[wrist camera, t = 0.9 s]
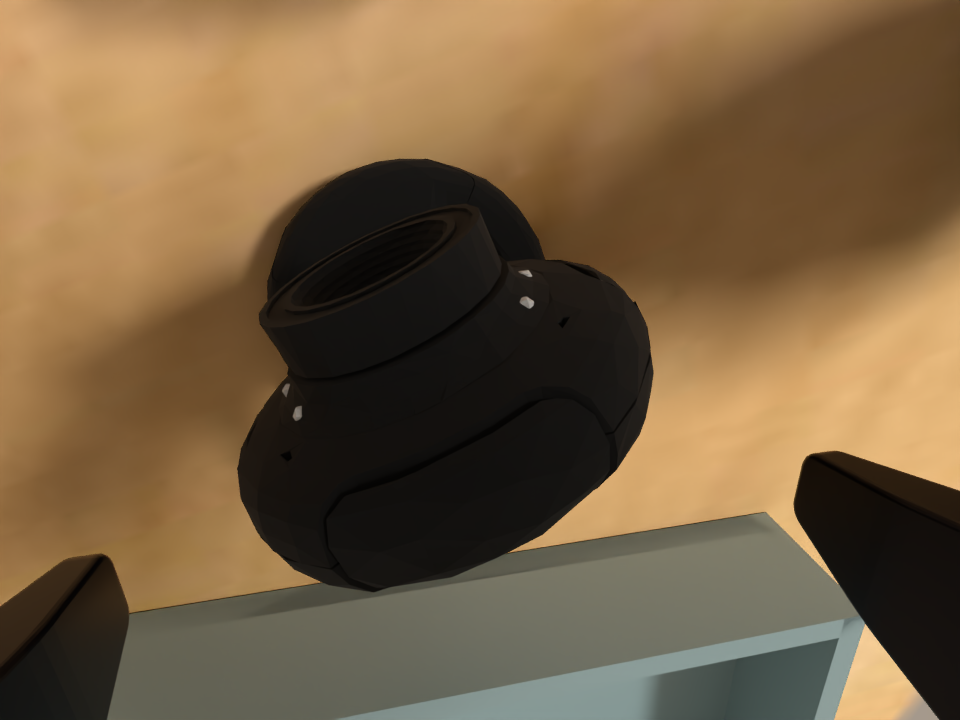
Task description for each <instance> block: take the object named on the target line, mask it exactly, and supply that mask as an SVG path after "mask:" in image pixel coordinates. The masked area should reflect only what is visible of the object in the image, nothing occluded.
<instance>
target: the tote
mask: <svg viewBox="0 0 960 720" xmlns="http://www.w3.org/2000/svg"><path fill="white" fill-rule="evenodd" d="M864 625H865V623H864V621H863V620H862V618H861V617H860V616H859V614H858V613H857V611H856V610H855V608H854V607H853V605H852V604H851V602H850V601H849V599H848V598H847V596H846V595H845V593H844V592H843V590H842V588H841V587H840V586H839V585H838V584H837V583H836V582H835V581H834V580H833V579H832V578H831V577H830V576H829V575H828V574H827V573H826V572H825V571H824V570H823V569H822V568H821V567H820V566H819V565H818V564H817V563H816V562H815V561H814V560H813V559H812V558H811V557H810V556H809V555H808V554H807V553H806V552H805V551H804V550H803V549H802V548H801V547H800V546H799V545H798V544H797V543H796V542H795V541H794V540H793V539H792V538H791V537H790V536H789V535H788V534H787V533H786V532H785V531H784V530H783V529H782V528H781V527H780V526H779V525H778V524H777V523H776V522H775V521H774V520H773V519H772V518H771V517H770V516H769V515H768V514H767V513H766V512H765V513H758V514H752V515H746V516H740V517H733V518H727V519H721V520H715V521H708V522H702V523H696V524H690V525H683V526H677V527H671V528H664V529H658V530H652V531H646V532H639V533H633V534H627V535H621V536H614V537H608V538H602V539H596V540H589V541H583V542H577V543H570V544H564V545H558V546H552V547H545V548H539V549H533V550H527V551H520V552H514V553H508V554H504V555H502V556H500V557H498V558H496V559H493V560H491V561H489V562H486V563H484V564H482V565H479V566H477V567H475V568H472V569H470V570H468V571H465V572H463V573H461V574H459V575H456V576H454V577H451V578H445V579H438V580H432V581H426V582H420V583H414V584H408V585H401V586H395V587H389V588H386V589H383V590H380V591H377V592H374V593H373V592H367V591H361V590H355V589H348V588H342V587H336V586H330V585H327V584H325V583H320V584H314V585H307V586H301V587H295V588H289V589H282V590H276V591H270V592H263V593H257V594H251V595H245V596H238V597H232V598H226V599H220V600H213V601H207V602H201V603H195V604H188V605H182V606H176V607H170V608H163V609H157V610H151V611H144V612H138V613H132V614H129V626H128V631H127V635H126V639H125V644H124V648H123V652H122V657H121V661H120V665H119V670H118V674H117V679H116V683H115V687H114V692H113V696H112V700H111V705H110V709H109V713H108V718H107V720H834V718H835V715H836V712H837V708H838V705H839V702H840V699H841V696H842V693H843V690H844V687H845V684H846V681H847V678H848V674H849V671H850V668H851V665H852V662H853V659H854V656H855V653H856V650H857V647H858V643H859V640H860V637H861V634H862V631H863V628H864Z"/></svg>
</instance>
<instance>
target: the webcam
mask: <svg viewBox="0 0 960 720" xmlns="http://www.w3.org/2000/svg"><path fill="white" fill-rule="evenodd" d="M259 321H260V325H261V326H262V328H263V329H264V330H265V332H266V333H267V335H268V336H269V338H270V339H271V340H272V342H273V343H274V345H275V346H276V348H277V349H278V350H279V352H280V354H281V356H282V357H283V359H284V361H285V363H286V364H287V366H288V376H287V377H286V379H285V380H284V381H283V382H282V383H281V384H280V385H279V386H278V388H277V389H276V390H275V392H274V393H273V394H272V396H271V397H270V398H269V400H268V401H267V402H266V404H265V405H264V407H263V409H262V410H261V411H260V412H259V414H258V415H257V417H256V419H255V421H254V423H253V425H252V427H251V429H250V431H249V433H248V435H247V438H246V440H245V442H244V444H243V446H242V448H241V453H240V459H239V465H238V467H237V470H238V479H239V487H240V496H241V500H242V502H243V504H244V506H245V508H246V510H247V512H248V514H249V516H250V518H251V520H252V522H253V524H254V526H255V528H256V530H257V532H258V534H259V535H260V537H261V538H262V539H263V540H264V541H265V542H266V543H267V544H268V545H269V546H270V548H271V549H272V550H273V551H274V552H276V553H277V554H279V555H280V556H281V557H282V558H283V559H284V560H285V561H286V562H287V563H288V564H289V565H290V566H291V567H292V568H293V569H294V570H297V571H299V572H301V573H303V574H305V575H307V576H310V577H312V578H314V579H316V580H318V581H320V582H323V583H325V584H327V585H330V586H336V587H342V588H348V589H355V590H361V591H367V592H373V593H374V592H377V591H380V590H383V589H386V588H389V587H395V586H401V585H408V584H414V583H420V582H426V581H432V580H438V579H445V578H451V577H454V576H456V575H459V574H461V573H463V572H465V571H468V570H470V569H472V568H475V567H477V566H479V565H482V564H484V563H486V562H489V561H491V560H493V559H496V558H498V557H500V556H502V555H504V554H506V553H508V552H510V551H512V550H514V549H515V548H517V547H519V546H521V545H523V544H525V543H527V542H529V541H531V540H533V539H535V538H537V537H539V536H541V535H543V534H544V533H545V532H546V531H547V530H548V529H550V528H551V527H552V526H553V525H554V524H555V523H557V522H558V521H559V520H560V519H561V518H562V517H563V516H565V515H566V514H567V513H568V512H569V511H570V510H571V509H573V508H574V507H575V506H576V505H577V504H578V503H580V502H581V501H582V500H583V499H584V498H585V497H586V496H588V495H589V494H590V493H591V492H592V491H593V490H595V489H597V488H598V487H599V486H600V485H601V484H602V483H603V482H604V481H605V480H606V479H607V478H608V477H609V476H611V475H612V474H613V473H614V472H615V471H616V470H617V468H618V467H619V465H620V464H621V462H622V461H623V459H624V458H625V456H626V455H627V453H628V452H629V450H630V448H631V447H632V445H633V444H634V442H635V441H636V439H637V438H638V436H639V435H640V432H641V429H642V426H643V424H644V421H645V418H646V413H647V408H648V403H649V398H650V393H651V387H652V380H653V366H652V359H651V352H650V342H649V335H648V328H647V326H646V322H645V320H644V318H643V316H642V314H641V312H640V310H639V308H638V306H637V304H636V302H633V301H632V300H631V299H630V298H629V297H628V296H627V294H626V292H625V291H624V290H623V289H622V288H621V287H620V286H619V285H618V284H617V283H616V282H615V281H613V280H612V279H611V278H610V277H608V276H606V275H604V274H603V273H601V272H599V271H597V270H595V269H594V268H592V267H590V266H588V265H583V264H578V263H573V262H567V261H562V260H545V258H544V255H543V252H542V249H541V246H540V243H539V240H538V238H537V236H536V235H535V233H534V231H533V230H532V228H531V226H530V225H529V223H528V222H527V220H526V218H525V217H524V215H523V214H522V213H521V211H520V210H519V208H518V207H517V206H516V205H515V204H514V203H513V202H512V201H511V200H510V199H509V198H508V197H507V196H506V195H505V194H504V193H503V192H502V191H501V190H499V189H498V188H497V187H495V186H494V185H493V184H491V183H490V182H489V181H487V180H486V179H483V178H481V177H479V176H476V175H474V174H472V173H469V172H467V171H464V170H462V169H460V168H457V167H453V166H450V165H446V164H443V163H439V162H436V161H432V160H429V159H395V160H388V161H380V162H375V163H372V164H369V165H366V166H363V167H361V168H358V169H355V170H352V171H349V172H347V173H345V174H343V175H341V176H340V177H338V178H336V179H335V180H333V181H332V182H330V183H329V184H327V185H326V186H325V187H323V188H322V189H321V190H319V191H318V192H317V193H315V194H314V195H313V196H312V197H311V198H310V199H309V200H308V201H307V202H306V203H305V204H304V205H303V206H302V207H301V208H300V209H299V211H298V212H297V213H296V215H295V216H294V218H293V219H292V220H291V222H290V223H289V224H288V226H287V227H286V228H285V230H284V233H283V235H282V238H281V241H280V244H279V247H278V251H277V254H276V257H275V260H274V263H273V266H272V269H271V272H270V275H269V278H268V286H267V302H266V304H265V305H264V307H263V308H262V310H261V312H260V313H259Z"/></svg>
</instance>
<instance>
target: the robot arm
mask: <svg viewBox="0 0 960 720" xmlns="http://www.w3.org/2000/svg"><path fill="white" fill-rule="evenodd" d="M794 511H795V515H796V517H797V519H798V521H799V523H800V525H801V526H802V528H803V529H804V531H805V532H806V534H807V535H808V537H809V539H810V540H811V542H812V543H813V545H814V546H815V548H816V549H817V551H818V553H819V554H820V556H821V557H822V559H823V560H824V562H825V563H826V565H827V567H828V568H829V570H830V571H831V573H832V574H833V576H834V578H835V579H836V581H837V582H838V584H839V585H840V587H841V588H842V590H843V592H844V593H845V595H846V596H847V598H848V599H849V601H850V602H851V604H852V605H853V607H854V608H855V610H856V611H857V613H858V614H859V616H860V617H861V618H862V620H863V621H864V623H865V624H866V625H867V627H868V628H869V629H870V631H871V632H872V633H873V635H874V636H875V637H876V639H877V640H878V641H879V642H880V644H881V645H882V646H883V648H884V649H885V650H886V651H887V653H888V654H889V655H890V657H891V658H892V659H893V661H894V662H895V663H896V664H897V666H898V667H899V668H900V670H901V671H902V672H903V673H904V675H905V676H906V677H907V679H908V680H909V681H910V682H911V684H912V685H913V686H914V688H915V689H916V690H917V692H918V693H919V694H920V695H921V697H922V698H923V699H924V701H925V702H926V703H927V704H928V706H929V707H930V708H931V710H932V711H933V712H934V714H935V715H936V716H937V717H938V719H939V720H960V491H959V490H956V489H953V488H950V487H947V486H944V485H941V484H938V483H935V482H932V481H929V480H926V479H923V478H920V477H916V476H913V475H910V474H907V473H904V472H901V471H898V470H895V469H892V468H889V467H886V466H883V465H880V464H877V463H874V462H871V461H868V460H865V459H862V458H859V457H856V456H853V455H850V454H847V453H844V452H840V451H827V452H820V453H813V454H810V455H809V456H807V457H806V458H805V460H804V461H803V464H802V467H801V472H800V476H799V480H798V485H797V489H796V493H795V498H794ZM128 626H129V608H128V604H127V601H126V598H125V595H124V592H123V590H122V587H121V584H120V581H119V578H118V576H117V573H116V570H115V567H114V564H113V562H112V560H111V559H110V558H109V557H108V556H107V555H104V554H93V555H86V556H79V557H72V558H68V559H65V560H63V561H62V562H60V563H59V564H58V565H56V566H55V567H53V568H52V569H51V570H49V571H48V572H47V573H45V574H44V575H43V576H41V577H40V578H38V579H37V580H36V581H34V582H33V583H32V584H30V585H29V586H28V587H26V588H25V589H23V590H22V591H21V592H19V593H18V594H17V595H15V596H14V597H13V598H11V599H10V600H8V601H7V602H6V603H4V604H3V605H2V606H0V720H107V718H108V713H109V709H110V705H111V700H112V696H113V692H114V687H115V683H116V679H117V674H118V670H119V665H120V661H121V657H122V652H123V648H124V644H125V639H126V635H127V631H128Z"/></svg>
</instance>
